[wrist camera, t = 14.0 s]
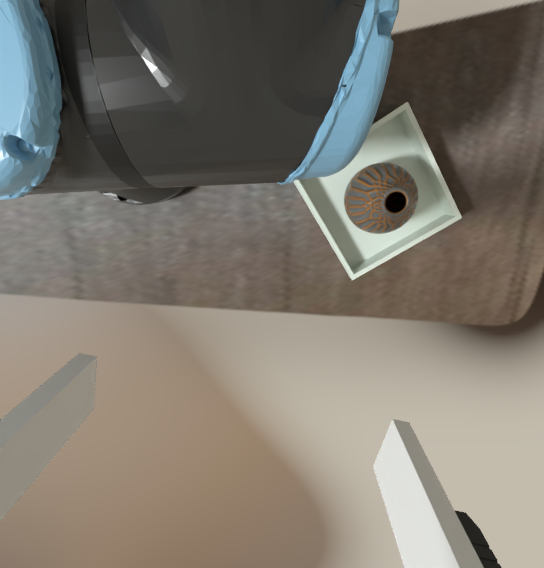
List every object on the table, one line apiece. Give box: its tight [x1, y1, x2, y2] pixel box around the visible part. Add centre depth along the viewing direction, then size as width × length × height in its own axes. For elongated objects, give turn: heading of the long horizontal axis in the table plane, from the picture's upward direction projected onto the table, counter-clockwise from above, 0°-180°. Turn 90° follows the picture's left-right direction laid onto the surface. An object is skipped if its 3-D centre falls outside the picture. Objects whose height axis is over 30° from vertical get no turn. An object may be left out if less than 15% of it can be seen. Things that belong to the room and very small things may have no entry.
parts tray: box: [293, 102, 462, 280], centre depth 36 cm, size 13×13×3 cm
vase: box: [344, 163, 418, 234], centre depth 32 cm, size 7×7×9 cm
